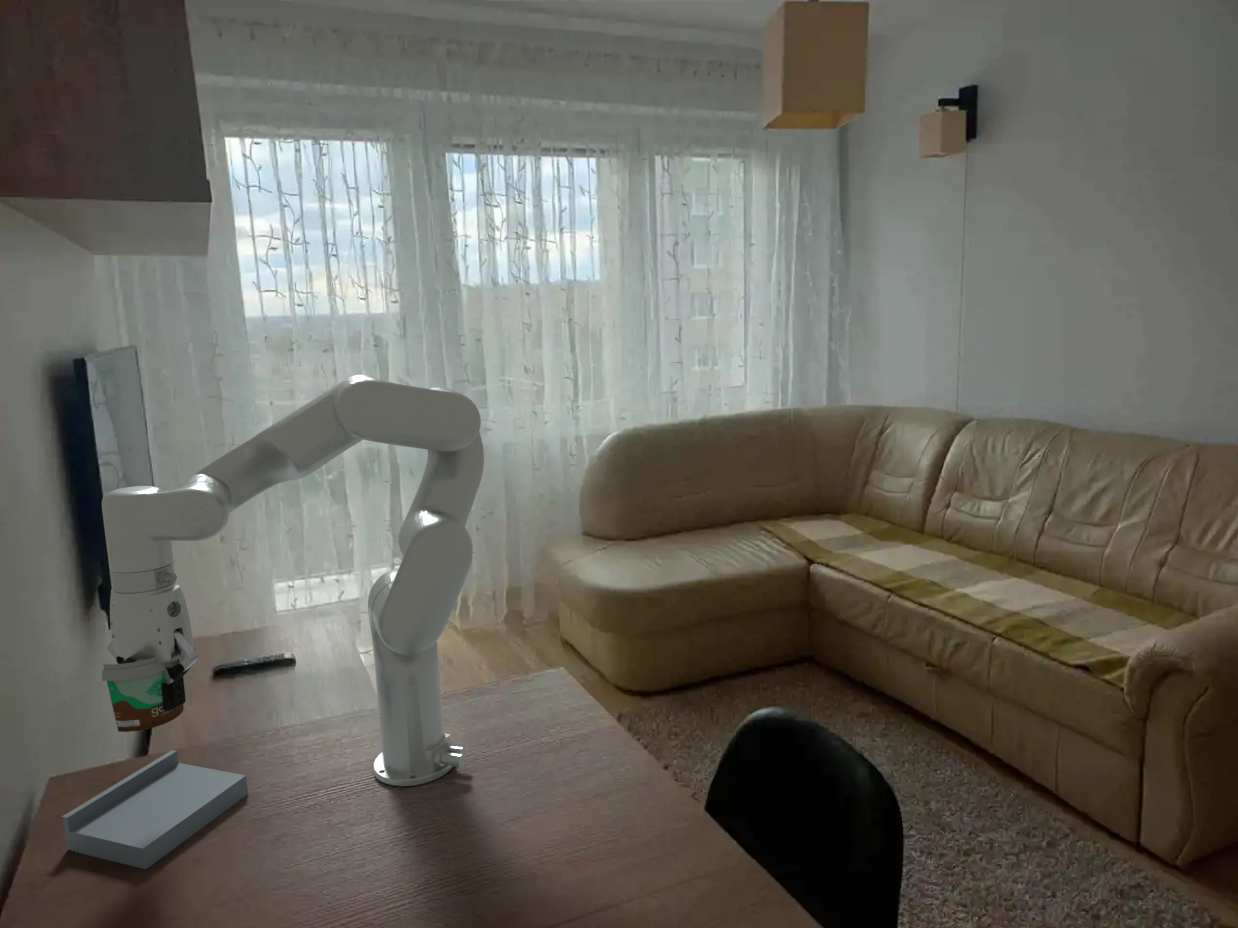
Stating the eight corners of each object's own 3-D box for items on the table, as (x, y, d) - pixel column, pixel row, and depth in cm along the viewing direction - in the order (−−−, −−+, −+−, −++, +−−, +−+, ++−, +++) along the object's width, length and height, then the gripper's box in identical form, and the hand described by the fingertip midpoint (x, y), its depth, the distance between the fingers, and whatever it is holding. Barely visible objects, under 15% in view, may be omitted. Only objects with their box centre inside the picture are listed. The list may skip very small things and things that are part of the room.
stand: (248, 793, 125) (244, 763, 124) (145, 869, 108) (140, 834, 108) (176, 779, 130) (172, 749, 129) (67, 849, 113) (61, 816, 112)
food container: (149, 741, 110) (140, 669, 108) (109, 736, 111) (100, 665, 109) (212, 699, 121) (205, 633, 120) (176, 695, 123) (168, 631, 121)
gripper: (215, 575, 114) (227, 700, 117) (119, 565, 119) (134, 685, 122) (170, 592, 107) (184, 724, 110) (70, 581, 112) (87, 707, 115)
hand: (157, 702), depth 116 cm, fingers closed on food container, 5 cm apart
